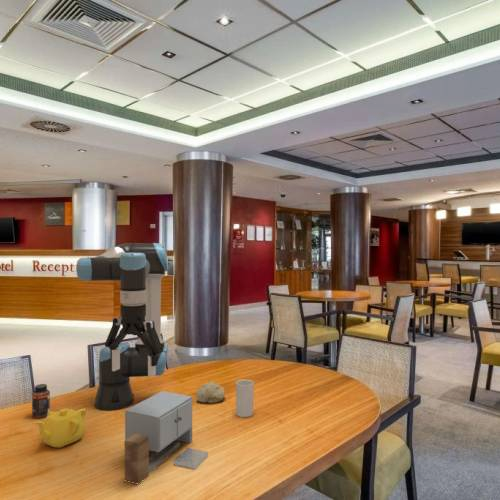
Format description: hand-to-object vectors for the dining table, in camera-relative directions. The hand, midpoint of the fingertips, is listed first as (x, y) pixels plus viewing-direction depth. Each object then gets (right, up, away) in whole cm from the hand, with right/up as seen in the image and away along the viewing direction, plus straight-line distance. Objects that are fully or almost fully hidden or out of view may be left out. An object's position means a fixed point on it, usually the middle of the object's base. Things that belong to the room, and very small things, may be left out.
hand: (133, 373), depth 127 cm
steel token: (+18, -25, -4) cm, 31 cm away
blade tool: (+8, -25, -6) cm, 26 cm away
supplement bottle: (-42, -24, +28) cm, 56 cm away
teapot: (-25, -25, +7) cm, 36 cm away
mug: (+33, -25, +32) cm, 52 cm away
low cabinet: (+8, -25, +2) cm, 26 cm away
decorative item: (+20, -25, +44) cm, 54 cm away
